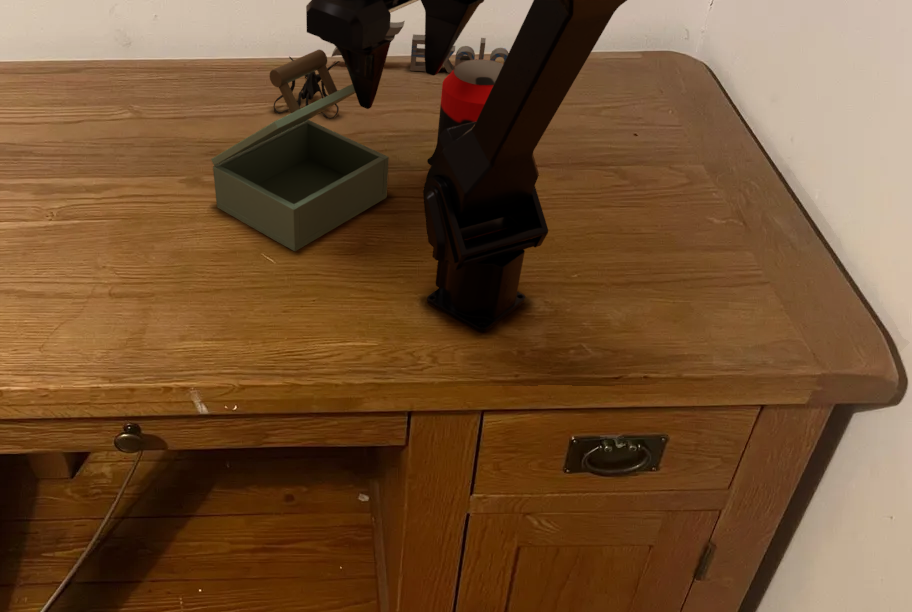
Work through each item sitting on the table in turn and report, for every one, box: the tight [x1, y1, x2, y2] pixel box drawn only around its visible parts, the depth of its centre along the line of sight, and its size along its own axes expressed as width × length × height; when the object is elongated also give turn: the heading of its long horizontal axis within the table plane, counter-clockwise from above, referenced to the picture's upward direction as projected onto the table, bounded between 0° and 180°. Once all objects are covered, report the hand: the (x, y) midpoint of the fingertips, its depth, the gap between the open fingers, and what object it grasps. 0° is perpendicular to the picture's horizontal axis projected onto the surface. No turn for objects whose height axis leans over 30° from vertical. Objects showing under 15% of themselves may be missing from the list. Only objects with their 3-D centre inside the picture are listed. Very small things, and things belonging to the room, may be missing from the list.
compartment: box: [212, 119, 390, 252], centre depth 92 cm, size 11×13×5 cm
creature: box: [273, 55, 340, 119], centre depth 107 cm, size 8×5×8 cm
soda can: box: [436, 59, 503, 142], centre depth 92 cm, size 8×8×12 cm
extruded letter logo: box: [330, 20, 509, 74], centre depth 114 cm, size 25×2×6 cm, turn 81°
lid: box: [210, 49, 356, 166], centre depth 88 cm, size 12×13×5 cm
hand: (399, 90), depth 83 cm, fingers open, 9 cm apart
